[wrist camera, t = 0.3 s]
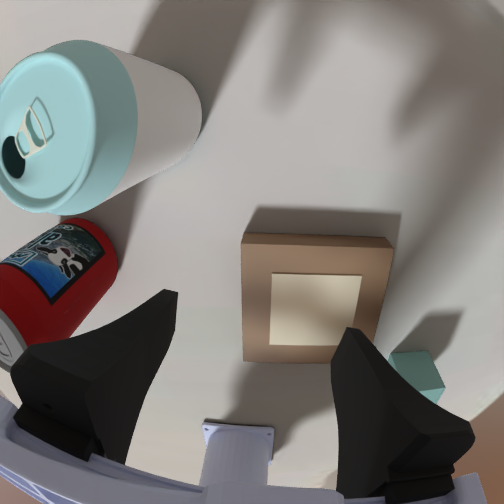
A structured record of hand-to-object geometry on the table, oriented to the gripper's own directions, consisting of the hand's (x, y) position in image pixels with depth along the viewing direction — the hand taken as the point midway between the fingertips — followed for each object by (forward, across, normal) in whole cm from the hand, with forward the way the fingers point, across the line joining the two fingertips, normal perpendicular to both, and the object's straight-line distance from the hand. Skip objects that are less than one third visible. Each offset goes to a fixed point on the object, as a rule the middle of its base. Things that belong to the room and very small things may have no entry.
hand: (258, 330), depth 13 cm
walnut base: (+10, -4, +4) cm, 11 cm away
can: (+10, +9, -7) cm, 15 cm away
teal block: (+10, -16, +10) cm, 21 cm away
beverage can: (+10, +14, +4) cm, 18 cm away
